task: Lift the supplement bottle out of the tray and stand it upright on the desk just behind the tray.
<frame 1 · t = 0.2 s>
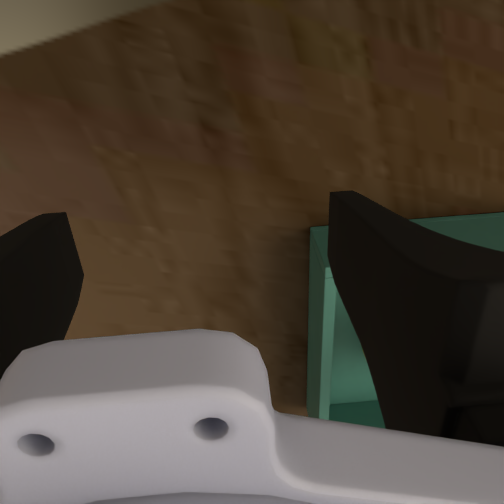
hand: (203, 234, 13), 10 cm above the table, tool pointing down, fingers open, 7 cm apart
tray: (398, 321, 29), on the table
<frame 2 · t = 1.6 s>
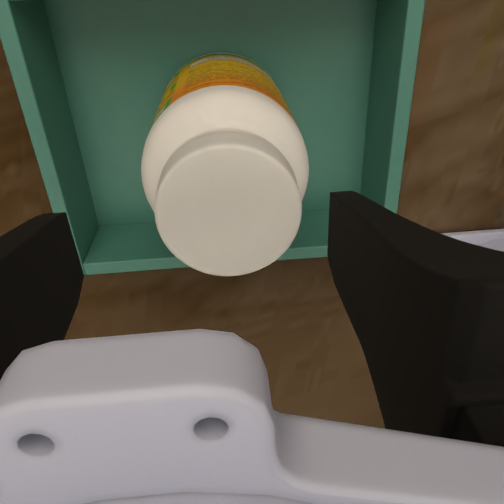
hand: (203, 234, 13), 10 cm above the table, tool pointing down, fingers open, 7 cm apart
tray: (222, 113, 21), on the table
supplement bottle: (222, 114, 21), resting on tray
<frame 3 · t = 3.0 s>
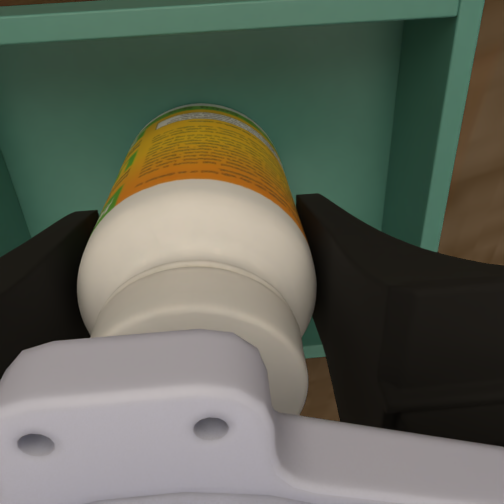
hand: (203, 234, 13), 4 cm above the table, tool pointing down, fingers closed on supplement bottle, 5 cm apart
tray: (204, 173, 17), on the table
supplement bottle: (204, 176, 16), resting on tray, touching gripper
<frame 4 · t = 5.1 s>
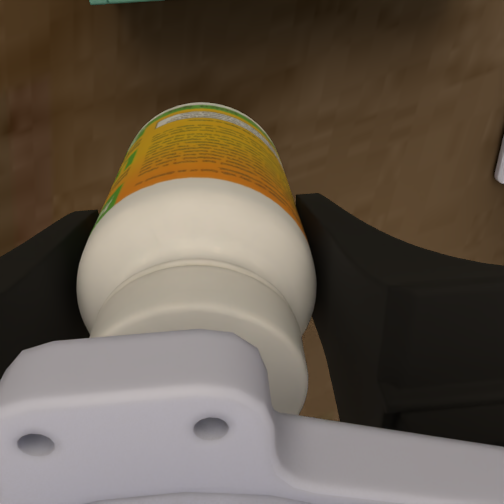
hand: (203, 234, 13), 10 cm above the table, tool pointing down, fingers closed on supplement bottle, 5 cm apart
supplement bottle: (204, 175, 16), point 6 cm above the table, touching gripper
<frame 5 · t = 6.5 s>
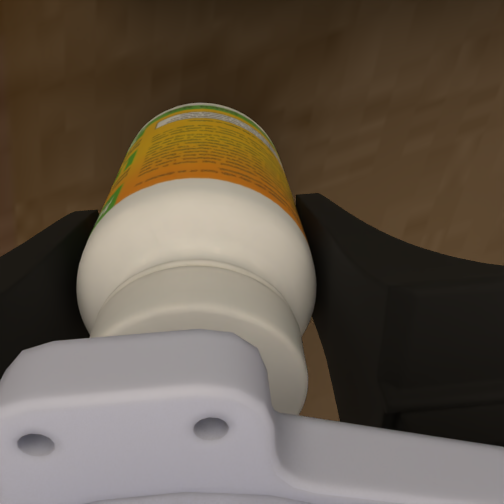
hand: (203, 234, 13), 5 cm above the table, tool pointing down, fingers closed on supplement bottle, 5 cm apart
supplement bottle: (204, 175, 16), point 1 cm above the table, touching gripper
when the fingers open (4 cm above the table, at t = 7.4 s): supplement bottle stays where it is, on the table.
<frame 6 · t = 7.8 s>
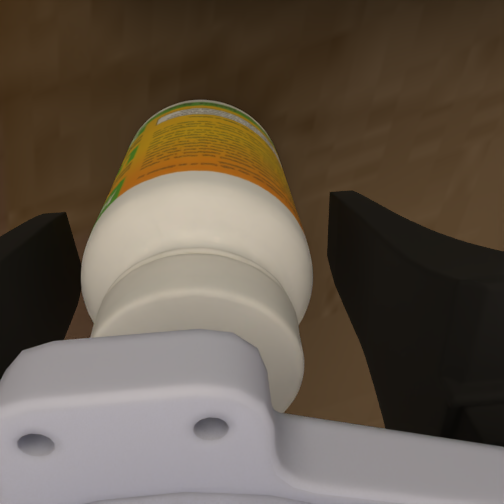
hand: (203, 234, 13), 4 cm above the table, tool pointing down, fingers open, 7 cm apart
supplement bottle: (204, 171, 17), on the table
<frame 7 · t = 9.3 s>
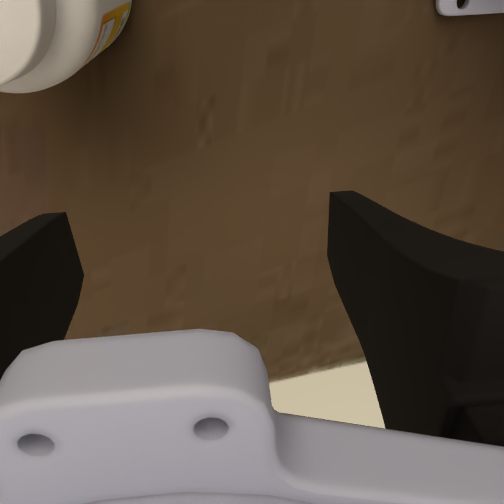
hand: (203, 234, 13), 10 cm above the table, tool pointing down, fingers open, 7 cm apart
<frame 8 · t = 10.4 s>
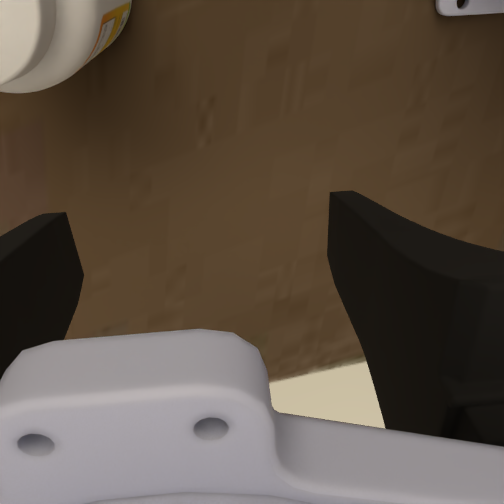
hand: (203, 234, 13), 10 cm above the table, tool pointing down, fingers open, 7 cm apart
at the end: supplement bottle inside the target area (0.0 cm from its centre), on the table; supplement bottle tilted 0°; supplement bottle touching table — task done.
